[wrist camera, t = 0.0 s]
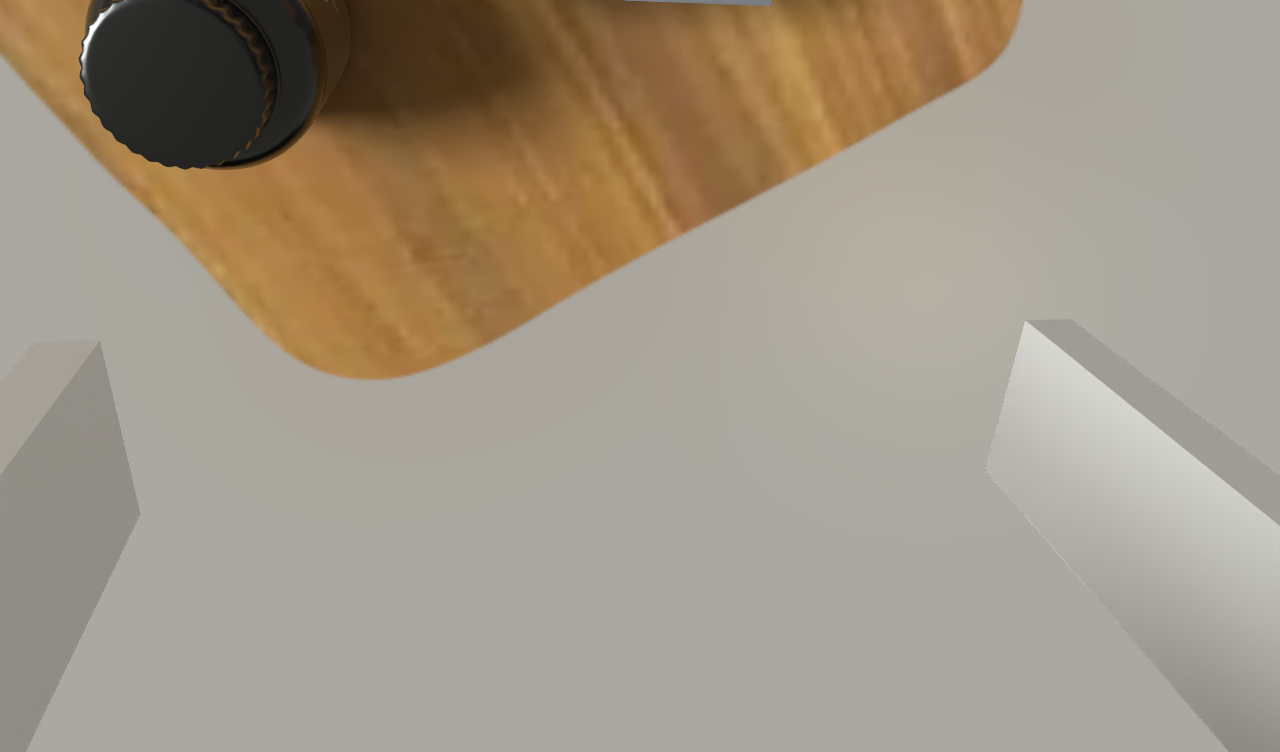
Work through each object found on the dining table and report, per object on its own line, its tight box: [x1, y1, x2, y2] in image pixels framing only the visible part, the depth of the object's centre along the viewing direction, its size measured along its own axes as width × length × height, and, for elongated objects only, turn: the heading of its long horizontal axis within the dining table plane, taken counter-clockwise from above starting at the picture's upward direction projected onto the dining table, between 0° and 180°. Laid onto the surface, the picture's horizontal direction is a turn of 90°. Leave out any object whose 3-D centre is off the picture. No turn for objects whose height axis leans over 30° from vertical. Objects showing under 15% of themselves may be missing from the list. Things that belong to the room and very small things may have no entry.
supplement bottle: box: [79, 0, 351, 170], centre depth 31 cm, size 7×7×12 cm
